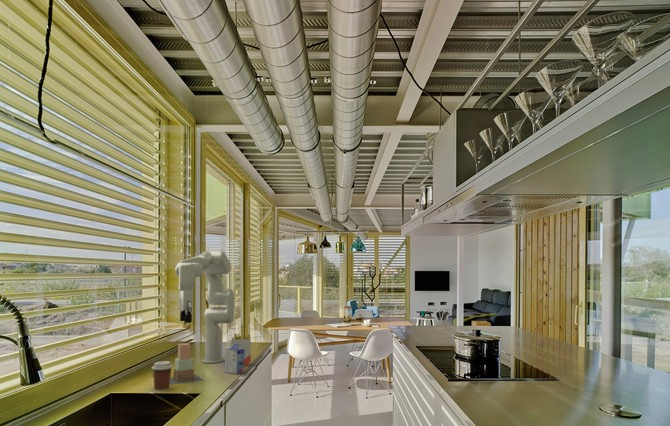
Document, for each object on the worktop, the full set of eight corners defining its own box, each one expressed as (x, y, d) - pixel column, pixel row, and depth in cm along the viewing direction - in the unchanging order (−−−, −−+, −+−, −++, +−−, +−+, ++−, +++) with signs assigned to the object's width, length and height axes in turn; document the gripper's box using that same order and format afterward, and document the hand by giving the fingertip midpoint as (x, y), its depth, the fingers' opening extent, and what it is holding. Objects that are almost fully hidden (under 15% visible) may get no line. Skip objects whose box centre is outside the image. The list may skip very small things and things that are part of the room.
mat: (163, 379, 238) (163, 378, 238) (195, 375, 246) (195, 374, 246) (170, 385, 224) (170, 384, 224) (204, 381, 232) (204, 380, 232)
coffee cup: (167, 386, 224) (167, 359, 225) (175, 389, 217) (176, 362, 218) (147, 389, 217) (148, 362, 219) (155, 393, 211) (156, 365, 212)
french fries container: (230, 365, 270) (231, 333, 272) (250, 364, 272) (250, 332, 274) (230, 367, 265) (231, 334, 267) (250, 365, 268) (250, 333, 270)
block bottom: (173, 378, 236) (173, 368, 237) (189, 376, 240) (189, 366, 241) (177, 382, 230) (177, 371, 230) (193, 379, 234) (194, 369, 234)
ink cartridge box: (244, 372, 250) (245, 344, 252) (236, 374, 246) (237, 346, 247) (232, 370, 256) (232, 343, 258) (224, 372, 252) (224, 344, 253)
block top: (174, 368, 237) (175, 358, 237) (189, 366, 240) (189, 356, 241) (178, 371, 231) (178, 360, 231) (192, 369, 234) (193, 358, 235)
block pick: (177, 358, 237) (178, 343, 238) (187, 357, 240) (188, 343, 240) (180, 359, 233) (180, 345, 234) (190, 358, 235) (190, 344, 236)
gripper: (174, 287, 246) (174, 320, 244) (183, 288, 232) (182, 324, 230) (189, 286, 250) (188, 319, 248) (198, 287, 236) (198, 322, 234)
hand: (185, 321), depth 239 cm, fingers open, 9 cm apart
